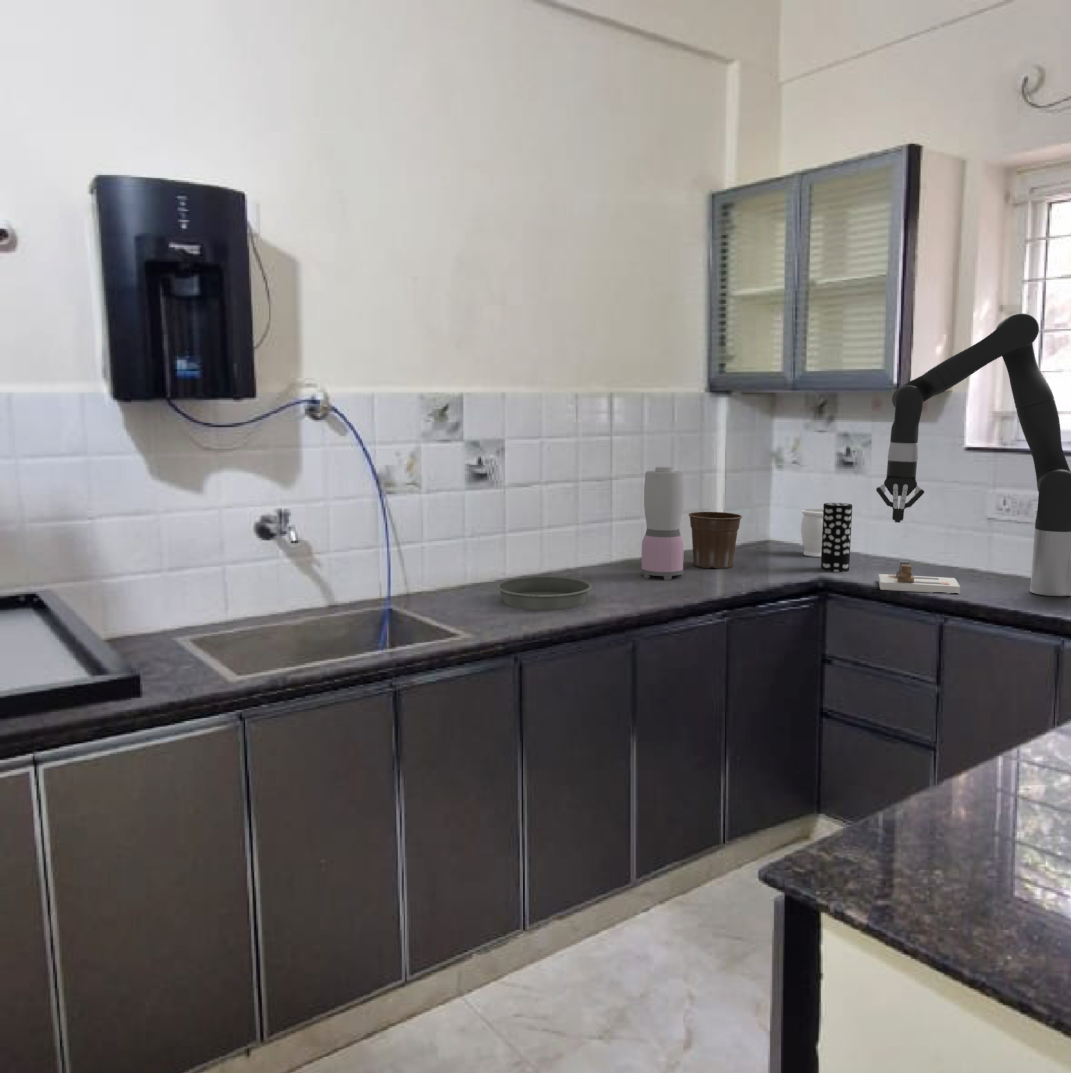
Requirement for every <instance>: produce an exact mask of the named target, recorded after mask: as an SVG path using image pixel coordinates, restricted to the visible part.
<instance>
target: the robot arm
mask: <svg viewBox="0 0 1071 1073" xmlns="http://www.w3.org/2000/svg"><path fill="white" fill-rule="evenodd" d="M1039 332H1040V326H1039V322H1038V320H1037V319H1036V318H1035V317H1034V316H1033V315H1031V314H1028V313H1021V312H1020V313H1015V314H1011V315H1008V316H1007V317H1005V318H1003V319H1002V320H1001V321H1000V322H999V323H998V325H997V326H996V328H995V330H994V331H992V332H991V333H989V334H988V335H987V336H985V337H983V339H982V340H980V341H978V342H977V343H975V344H973V345H971V346H969V347H968V348H965V349H964V350H962V351H960V352H958V353H956V354H954V355H953V356H951V357H949V358H947V359H945V360H943V361H942V362H940V363H939V364H937V365H935V366H934V367H932V368H930V369H929V370H928V371H926V372H924V373H923V374H922V375H920V376H918V377H916V378H914V379H912V380H910V381H908V382H907V383H905V384H903V385H901V386H899V387H898V388H896V389H895V391H894V392H893V394H892V397H891V401H892V405H893V407H894V418H893V419H894V420H893V423H892V425H891V428H890V429H891V430H890V440H889V441H890V442H889V448H888V453H887V465H886V476H885V480H884V482H883V484H881V485H880V486H877V487H876V489H875V491H876V493H877V494H878V495H879V496H880V498H881V499H882V501H883V502H884V503H885V505H886V506H887V507H891V508H892V520H893V521H894V523H901V521H904V518H905V517H904V513H905V509H907V508H911V507H912V506H913V505H914V504H915V503H916V502H917V501H918V500H919V499H920V498H921V497H922V496H923V495H924V494H925V490H924V489H923V488H921V487H919V486H918V482H917V478H916V477H917V466H918V465H917V464H918V459H919V457H918V453H919V448H918V441H919V426H920V421H921V418H922V417H921V416H922V412H923V405H924V402H926V401H927V400H929V399H931V398H933V397H934V396H937V395H940V394H943V393H944V392H946V391H947V390H949V389H952V388H953V387H955V386H956V385H958V384H959V383H962V381H964V380H966V379H968V378H969V377H970V376H972V375H973V374H974V373H976V372H977V371H979V370H980V369H982V368H984V367H985V366H987V365H988V364H991V363H992V362H994V361H995V360H997V359H999V358H1001V357H1002V361H1003V362H1004V364H1005V367H1006V370H1007V371H1006V372H1007V374H1008V378H1009V384H1010V389H1011V392H1012V393H1011V394H1012V398H1013V401H1014V406H1015V409H1016V410H1015V411H1016V414H1017V417H1018V422H1019V425H1020V427H1021V431H1022V433H1023V435H1024V438H1025V441H1026V442H1027V446H1028V448H1029V450H1030V453H1031V456H1032V460H1033V464H1034V470H1035V476H1036V478H1035V479H1036V487H1037V491H1038V496H1037V498H1038V499H1037V510H1036V518H1035V521H1034V522H1035V524H1034V533H1033V534H1034V535H1033V547H1032V548H1033V549H1032V560H1031V561H1032V562H1031V573H1030V574H1031V575H1030V583H1029V584H1030V586H1029V591H1030V593H1032V594H1035V595H1041V596H1047V597H1068V596H1069V597H1071V469H1070V466H1069V464H1068V462H1067V461H1068V460H1067V459H1066V457H1065V453H1064V450H1063V444H1062V435H1061V431H1062V430H1061V424H1060V416H1059V412H1058V408H1057V405H1056V400H1055V397H1054V394H1053V392H1052V389H1051V387H1050V385H1049V383H1048V382H1047V379H1046V377H1045V376H1044V374H1043V373H1042V371H1041V370H1040V367H1039V365H1038V362H1037V359H1036V356H1035V355H1036V354H1035V349H1034V345H1033V344H1034V342H1035V341H1036V340H1037V338H1038V335H1039ZM886 489H887V490H886ZM886 491H888V492H889V494H890V495H891V496H892V501H891V500H890V499H889V498H888V496H887V495H886V494H885V493H886ZM913 491H914V495H913V496H912V497H911V498H910V499H909V500H908V501H907V500H906V499H907V497H908V496H909V495H910V494H911V493H913ZM899 497H900V501H899ZM906 501H907V502H906Z"/></svg>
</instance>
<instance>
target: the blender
mask: <svg viewBox="0 0 1071 1073" xmlns="http://www.w3.org/2000/svg"><path fill="white" fill-rule="evenodd" d="M684 489H685V488H684V472H683V471H681V470H674V467H673V466H664V465H663V466H662V465H661V466H655V467H654V470H646V472H644V487H643V508H644V516H645V524H646V531H645V534H644V536H643V538H642V540H641V567H640V572H641V574H643V578H644V579H647V580H649V579H650V578H651V576H656V577H657V576H658V577H663V580H664V581H671V580H672V577H673V576H680V577H681V576H682V575H683V574H684V553H685V552H684V545H685V544H684V540H683V538H682V535H681V532H680V531H681V530H680V527H681V522H682V515H683V510H684V492H685V490H684Z"/></svg>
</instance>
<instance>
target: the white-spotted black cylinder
mask: <svg viewBox="0 0 1071 1073" xmlns="http://www.w3.org/2000/svg"><path fill="white" fill-rule="evenodd" d="M822 509H823V528H822V550H821V557H820V570H821V571H825V572H832V573H833V572H834V573H844V572H845V571H846V572H848V571H850V559H851V558H850V557H851V542H852V540H851V539H852V519H853V518H852V517H853V504H851V503H845V502H827V503H826V502H825V503H823V507H822Z"/></svg>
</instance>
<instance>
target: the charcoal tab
mask: <svg viewBox="0 0 1071 1073" xmlns="http://www.w3.org/2000/svg"><path fill="white" fill-rule="evenodd" d="M901 564H904V565H910V561H909V560H900V559H899V564H898V565H899V566H898V570H895V575H896V577H897V576H898V575H901ZM911 575H912V576H913V573H912V571H911Z"/></svg>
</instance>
